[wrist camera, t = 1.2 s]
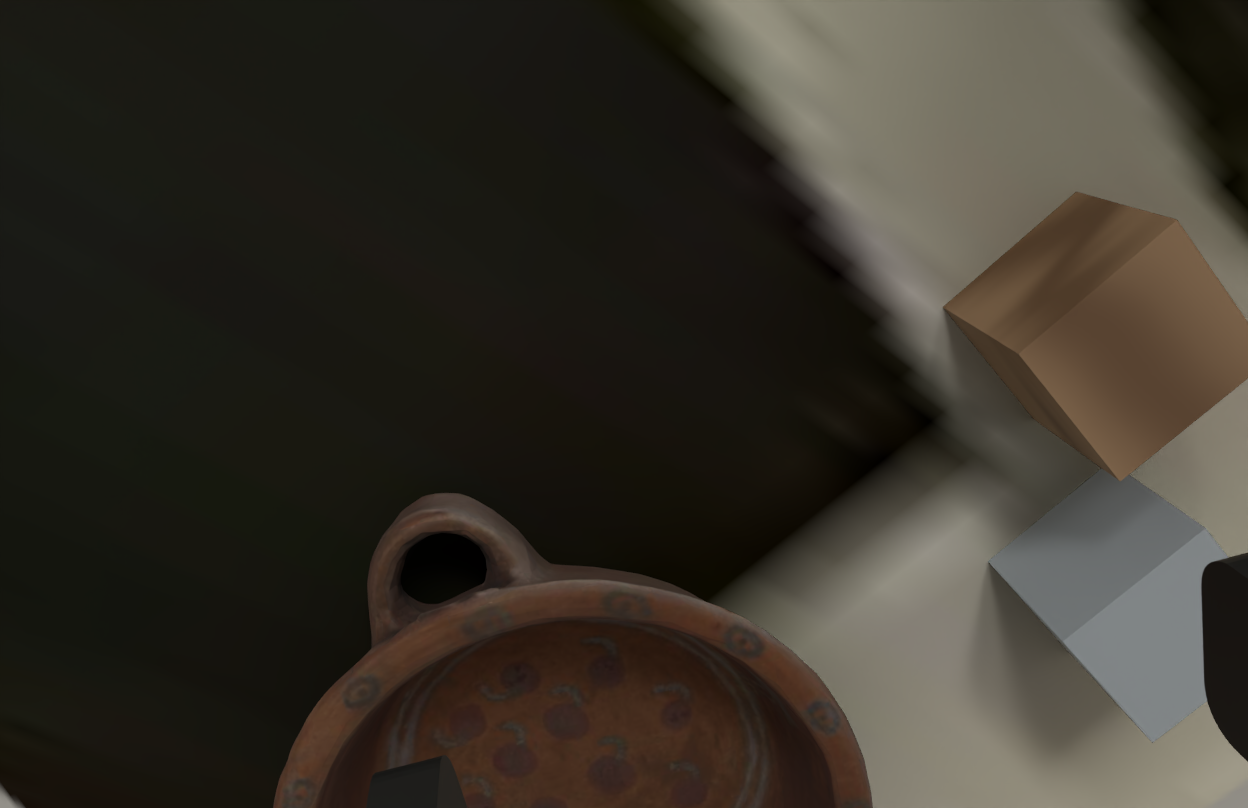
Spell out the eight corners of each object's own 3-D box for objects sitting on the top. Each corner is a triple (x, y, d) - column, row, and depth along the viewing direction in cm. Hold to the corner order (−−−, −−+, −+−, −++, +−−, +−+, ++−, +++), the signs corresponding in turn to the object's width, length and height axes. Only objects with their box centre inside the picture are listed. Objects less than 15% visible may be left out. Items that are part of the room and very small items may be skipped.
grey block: (1108, 460, 34) (1205, 528, 30) (1186, 558, 36) (1290, 637, 31) (986, 560, 35) (1062, 641, 30) (1068, 651, 37) (1152, 742, 32)
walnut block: (1075, 191, 31) (1177, 219, 27) (1161, 311, 33) (1272, 358, 28) (941, 306, 32) (1018, 353, 27) (1033, 418, 34) (1119, 481, 29)
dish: (513, 1064, 40) (515, 1201, 35) (146, 629, 33) (87, 729, 28) (927, 852, 39) (986, 964, 34) (645, 352, 31) (670, 407, 27)
